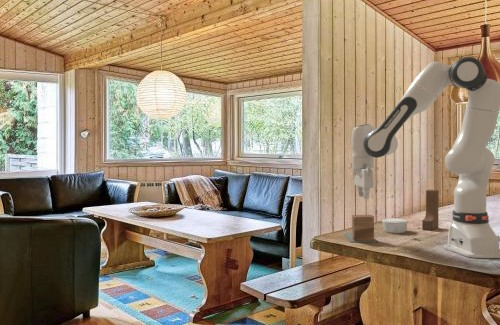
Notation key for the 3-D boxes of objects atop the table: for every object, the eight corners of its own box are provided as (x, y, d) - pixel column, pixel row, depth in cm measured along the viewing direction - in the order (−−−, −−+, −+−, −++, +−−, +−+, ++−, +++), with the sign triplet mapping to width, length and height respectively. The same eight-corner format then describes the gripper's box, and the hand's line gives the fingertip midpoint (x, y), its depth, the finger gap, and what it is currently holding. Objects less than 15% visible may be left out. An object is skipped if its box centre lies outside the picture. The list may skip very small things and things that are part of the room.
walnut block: (373, 240, 185) (373, 216, 185) (354, 240, 185) (354, 216, 185) (371, 238, 189) (371, 214, 189) (352, 238, 189) (352, 215, 189)
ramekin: (391, 234, 199) (391, 222, 199) (377, 230, 210) (377, 218, 209) (413, 233, 202) (413, 221, 202) (398, 228, 213) (398, 217, 212)
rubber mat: (378, 242, 184) (378, 241, 184) (351, 242, 184) (351, 241, 184) (368, 234, 200) (368, 233, 200) (343, 234, 200) (343, 233, 200)
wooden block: (431, 230, 206) (432, 191, 205) (421, 229, 209) (422, 191, 208) (438, 227, 212) (438, 189, 212) (428, 226, 215) (429, 189, 215)
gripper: (376, 164, 175) (377, 200, 176) (364, 163, 196) (365, 195, 196) (360, 165, 176) (361, 200, 176) (350, 163, 196) (350, 195, 196)
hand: (363, 197), depth 186 cm, fingers open, 8 cm apart
